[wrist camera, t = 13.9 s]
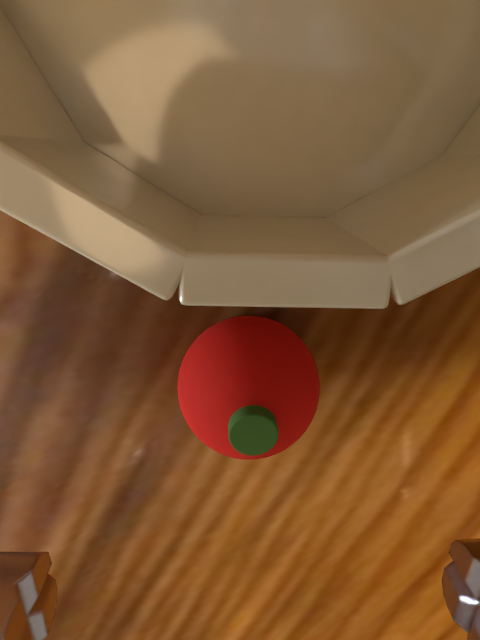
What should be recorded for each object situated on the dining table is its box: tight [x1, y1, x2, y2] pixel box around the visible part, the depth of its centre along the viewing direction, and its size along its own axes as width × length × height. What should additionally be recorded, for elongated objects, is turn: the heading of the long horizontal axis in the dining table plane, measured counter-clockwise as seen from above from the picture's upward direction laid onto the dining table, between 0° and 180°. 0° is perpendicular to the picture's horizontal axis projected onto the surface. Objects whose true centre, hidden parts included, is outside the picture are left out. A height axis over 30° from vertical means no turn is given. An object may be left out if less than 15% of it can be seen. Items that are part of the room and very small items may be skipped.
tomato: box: [178, 316, 320, 459], centre depth 16 cm, size 5×5×6 cm
